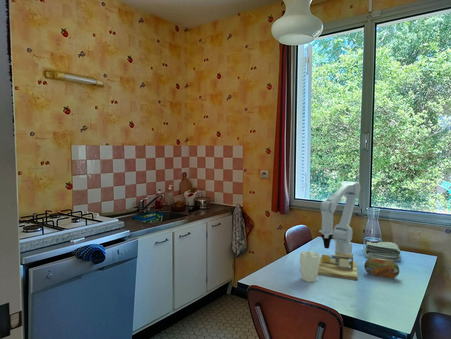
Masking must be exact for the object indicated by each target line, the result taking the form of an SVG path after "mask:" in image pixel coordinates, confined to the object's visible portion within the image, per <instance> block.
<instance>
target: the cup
mask: <svg viewBox="0 0 451 339" xmlns="http://www.w3.org/2000/svg"><path fill="white" fill-rule="evenodd" d="M319 257H320V254H319V253H318V252H315V251H310V250H309V251H306V250H305V251H301V252H300V253H299V264H300V273H301V279H302V280H303V281H304V282H307V283H314V282H316V281H317V278H318V275H319V274H318V269H319V263H320V258H319Z"/></svg>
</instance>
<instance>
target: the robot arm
mask: <svg viewBox="0 0 451 339" xmlns="http://www.w3.org/2000/svg"><path fill="white" fill-rule="evenodd" d="M361 188H362V187H361V184H360V182H359V181H347V180H346V181H345V180H341V182H340V184H339V188H338V189H337V191H336V192H334V193H332V194H331V195H330V196H329V197H328V198H326V200H323V201H321V203H320V206H319V208H320V214H321V229H319V231H318V232H319V233H321V239H322V241H323V246H324V249H330V244H331V240H332V238H333V241H335V242H334V243H335V244H334V253H333V254H331V256H333V257H335V258H336V252H339V253H347V254H353V245H352V242H351V241H352V240H353V228H352V227H351V226H350V224H351V220H352V216H353V212H354V207H355V205H356V204H355V203H356V201H357V199H358V198H359V196H360V193H361ZM343 196H344V197H345V198H346V199H345V203H344V207H343V210H342V214H341V218H340V221H339V223H337V224H335V225H334V213H335V211H336V208H337V205H339V203H341V200H342V197H343ZM337 259H340V257H337Z"/></svg>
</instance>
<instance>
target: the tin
mask: <svg viewBox="0 0 451 339" xmlns="http://www.w3.org/2000/svg"><path fill="white" fill-rule="evenodd" d="M363 266H364V271H365V272H366V273H367V274H369V275H370V276H374V277H378V278H385V279H395V278H397V277H398V275H399V274H400V268H399V266H398V264H397V263H396V261H391V260H385V259H378V258H367V259H366V261H365V263H364V265H363Z"/></svg>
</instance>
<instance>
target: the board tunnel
mask: <svg viewBox="0 0 451 339" xmlns="http://www.w3.org/2000/svg"><path fill="white" fill-rule="evenodd" d="M337 257H343V258H349V259H351V260H349V261H350V269H348V268H341V267H338V264H337V262H338V260H340V258H337ZM319 258H320V263H319V269H318V274H317V275H319V276H320V275H321V276H327V277H334V278H339V279H340V278H342V279H348V280H355V281H358V277H359V275H358V268H357V261H354V253H352V254H347V253H339V252H336V257H335V258H331V257H330V261H334V262H336V264H332V263H324V262H322V256H319Z"/></svg>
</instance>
